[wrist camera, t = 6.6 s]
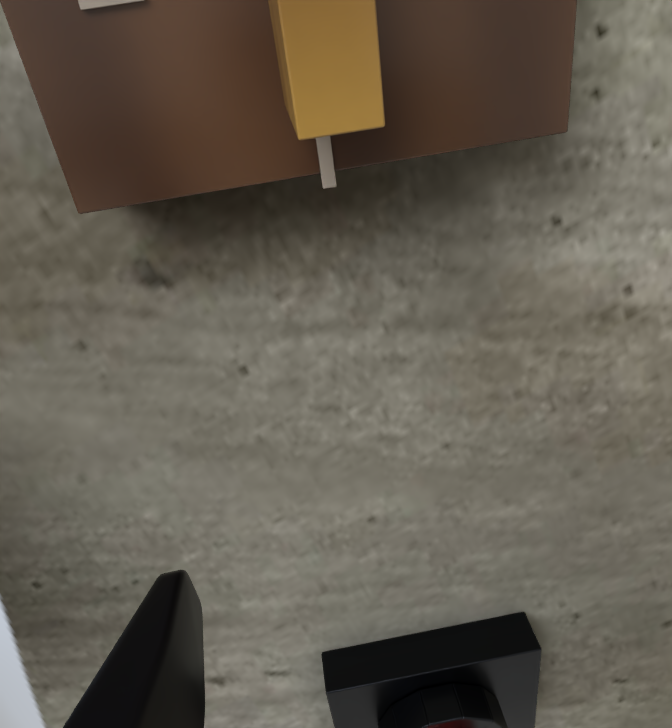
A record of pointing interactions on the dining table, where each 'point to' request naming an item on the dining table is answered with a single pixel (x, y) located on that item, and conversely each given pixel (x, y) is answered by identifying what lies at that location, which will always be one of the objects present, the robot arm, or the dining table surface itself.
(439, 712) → the button box
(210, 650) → the dining table surface
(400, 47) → the panel
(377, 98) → the lock knob
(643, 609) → the dining table surface
